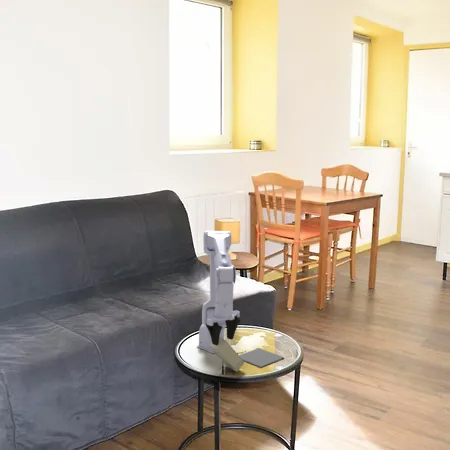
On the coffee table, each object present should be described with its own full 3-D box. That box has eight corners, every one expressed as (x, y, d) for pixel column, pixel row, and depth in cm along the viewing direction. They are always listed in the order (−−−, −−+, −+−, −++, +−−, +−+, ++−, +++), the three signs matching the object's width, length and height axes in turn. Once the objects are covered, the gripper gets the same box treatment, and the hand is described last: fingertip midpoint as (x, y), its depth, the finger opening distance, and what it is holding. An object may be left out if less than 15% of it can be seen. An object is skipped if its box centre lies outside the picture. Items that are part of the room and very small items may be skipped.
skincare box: (245, 362, 194) (227, 340, 188) (236, 372, 192) (218, 350, 186) (234, 356, 199) (216, 334, 193) (226, 366, 197) (207, 344, 191)
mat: (235, 357, 205) (235, 356, 205) (258, 349, 214) (258, 348, 214) (260, 367, 197) (260, 366, 197) (284, 358, 206) (284, 357, 206)
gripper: (218, 309, 181) (217, 350, 183) (247, 300, 192) (245, 339, 194) (202, 304, 186) (201, 344, 188) (231, 296, 197) (229, 334, 198)
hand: (222, 341), depth 191 cm, fingers open, 7 cm apart
